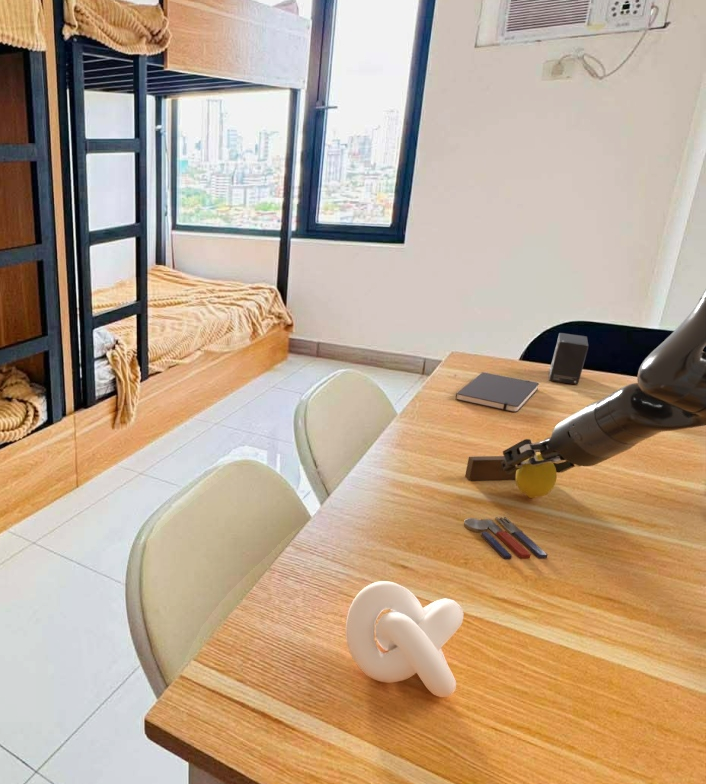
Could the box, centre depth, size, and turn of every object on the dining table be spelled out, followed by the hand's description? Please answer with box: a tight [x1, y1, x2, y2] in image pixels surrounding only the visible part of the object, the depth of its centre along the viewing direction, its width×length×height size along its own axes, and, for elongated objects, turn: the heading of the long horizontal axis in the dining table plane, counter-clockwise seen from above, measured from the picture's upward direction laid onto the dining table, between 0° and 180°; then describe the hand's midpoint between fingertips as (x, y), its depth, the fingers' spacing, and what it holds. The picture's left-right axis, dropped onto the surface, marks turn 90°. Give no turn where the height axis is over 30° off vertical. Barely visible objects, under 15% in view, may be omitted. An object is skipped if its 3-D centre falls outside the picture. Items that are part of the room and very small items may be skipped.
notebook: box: [455, 371, 540, 413], centre depth 150 cm, size 13×2×21 cm
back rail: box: [464, 455, 517, 481], centre depth 110 cm, size 14×2×4 cm, turn 91°
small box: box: [548, 332, 589, 385], centre depth 159 cm, size 11×6×10 cm, turn 147°
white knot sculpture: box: [345, 580, 465, 699], centre depth 67 cm, size 11×12×9 cm
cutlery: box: [463, 516, 549, 560], centre depth 93 cm, size 10×8×1 cm
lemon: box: [515, 453, 557, 499], centre depth 103 cm, size 6×6×8 cm
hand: (530, 467), depth 104 cm, fingers open, 8 cm apart
